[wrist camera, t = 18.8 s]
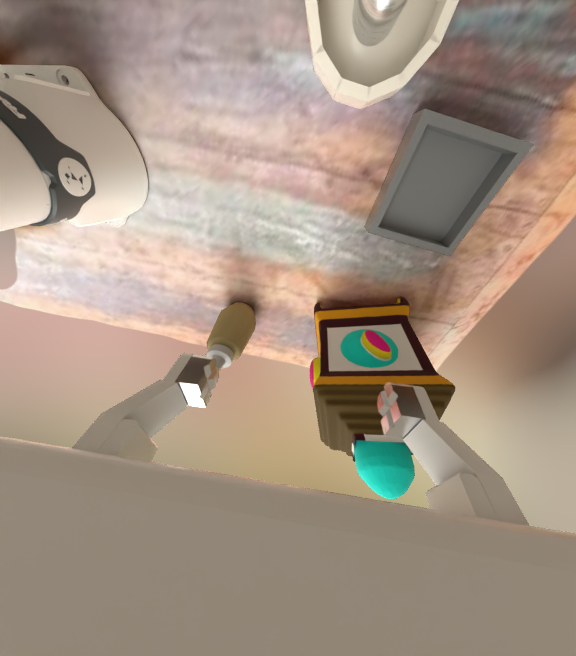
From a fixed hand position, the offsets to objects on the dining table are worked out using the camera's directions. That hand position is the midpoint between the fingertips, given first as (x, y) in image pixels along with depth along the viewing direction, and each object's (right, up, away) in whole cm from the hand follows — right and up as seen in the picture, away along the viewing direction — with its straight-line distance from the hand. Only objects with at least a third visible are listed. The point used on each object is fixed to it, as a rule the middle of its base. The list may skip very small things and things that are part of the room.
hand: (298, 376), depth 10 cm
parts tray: (+19, +22, +20) cm, 35 cm away
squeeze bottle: (-11, +6, +38) cm, 40 cm away
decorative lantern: (+15, +2, +37) cm, 40 cm away
